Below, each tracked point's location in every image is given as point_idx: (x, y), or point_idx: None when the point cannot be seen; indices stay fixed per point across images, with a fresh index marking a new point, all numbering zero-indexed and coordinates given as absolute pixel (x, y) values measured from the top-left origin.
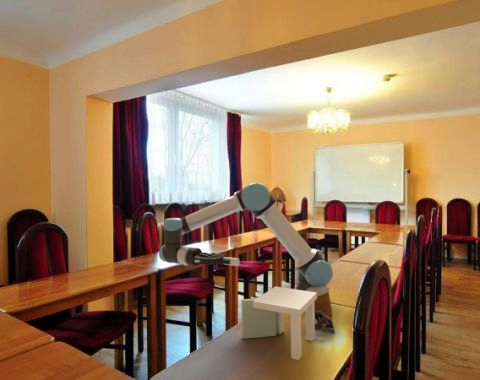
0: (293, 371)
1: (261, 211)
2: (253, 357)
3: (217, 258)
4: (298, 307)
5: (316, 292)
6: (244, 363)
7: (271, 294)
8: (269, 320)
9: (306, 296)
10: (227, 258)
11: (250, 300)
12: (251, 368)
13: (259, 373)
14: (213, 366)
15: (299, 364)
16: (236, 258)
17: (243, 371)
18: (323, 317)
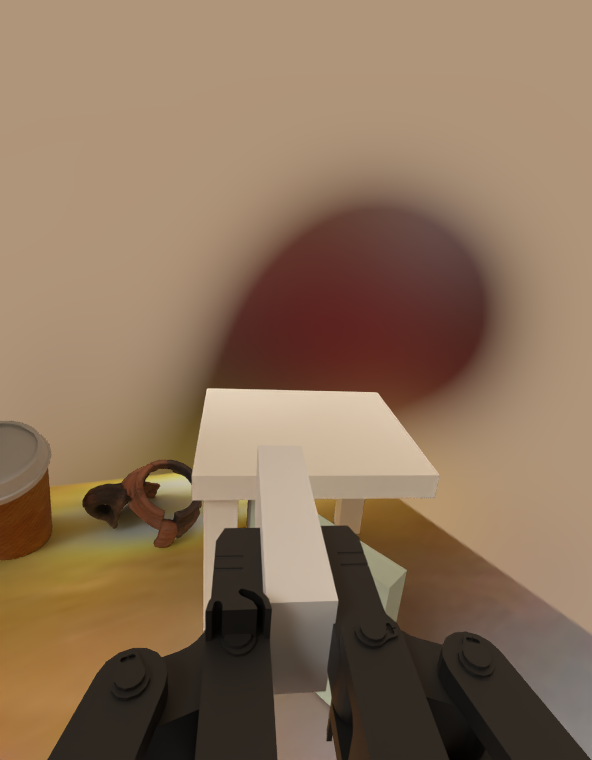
0: (404, 515)
1: None
2: (441, 610)
3: (473, 642)
4: (365, 395)
5: (45, 450)
6: (489, 615)
7: (316, 456)
8: None
9: (262, 397)
10: (321, 539)
11: (366, 546)
12: (486, 588)
13: (481, 563)
14: None
15: (369, 514)
16: (272, 460)
17: (517, 597)
18: (179, 463)
